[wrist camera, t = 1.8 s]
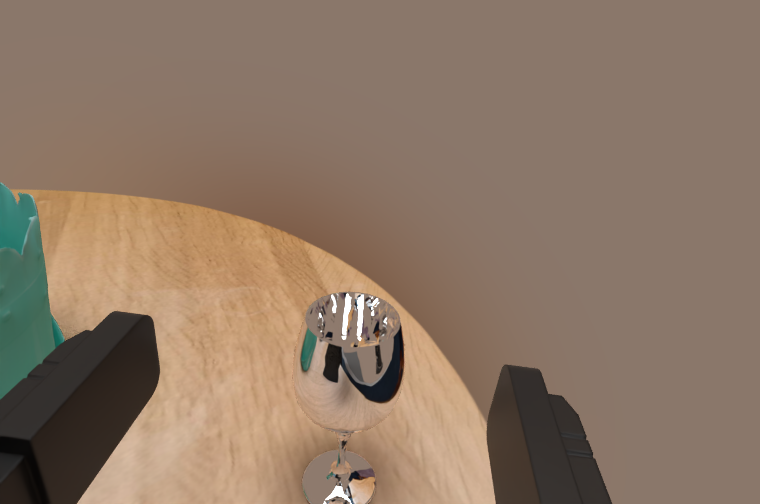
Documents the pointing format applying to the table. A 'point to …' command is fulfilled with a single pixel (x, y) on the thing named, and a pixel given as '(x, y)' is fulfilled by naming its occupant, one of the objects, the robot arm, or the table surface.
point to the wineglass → (347, 386)
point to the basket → (22, 292)
